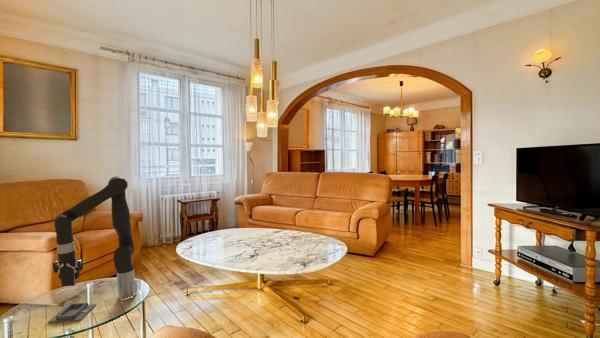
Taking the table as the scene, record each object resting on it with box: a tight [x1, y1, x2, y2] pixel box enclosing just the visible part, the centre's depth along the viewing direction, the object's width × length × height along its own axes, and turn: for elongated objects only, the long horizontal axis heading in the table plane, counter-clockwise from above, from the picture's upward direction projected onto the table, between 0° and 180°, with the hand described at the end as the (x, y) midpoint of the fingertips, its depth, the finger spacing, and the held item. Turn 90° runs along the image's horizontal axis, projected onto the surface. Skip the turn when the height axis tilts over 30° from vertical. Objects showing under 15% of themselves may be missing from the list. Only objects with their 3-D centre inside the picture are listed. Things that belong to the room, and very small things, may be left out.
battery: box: [59, 265, 77, 287], centre depth 156 cm, size 7×4×11 cm, turn 97°
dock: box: [47, 301, 97, 324], centre depth 158 cm, size 16×14×3 cm
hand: (69, 278), depth 157 cm, fingers closed on battery, 7 cm apart
